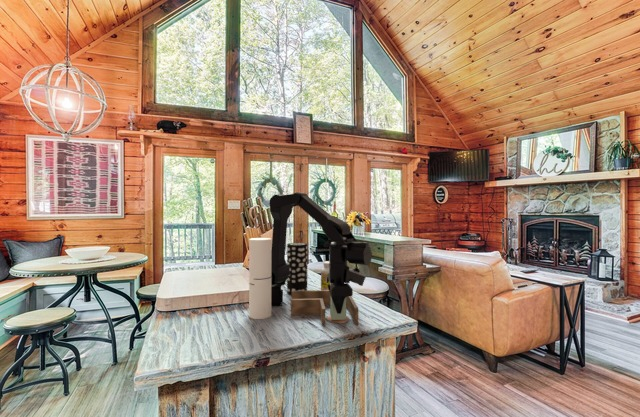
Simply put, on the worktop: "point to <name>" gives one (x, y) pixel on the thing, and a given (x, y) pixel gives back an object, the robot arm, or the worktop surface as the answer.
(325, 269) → the supplement bottle
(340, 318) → the block
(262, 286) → the cylindrical container
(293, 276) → the white-spotted black cylinder
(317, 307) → the channel
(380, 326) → the worktop surface
